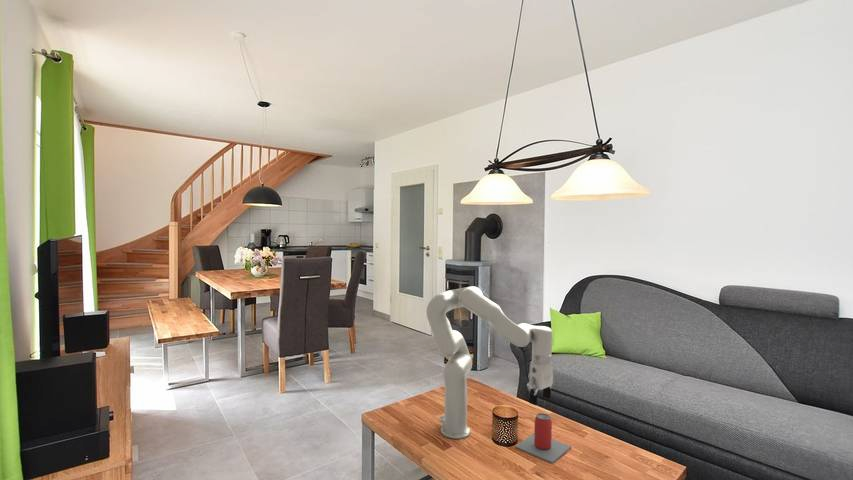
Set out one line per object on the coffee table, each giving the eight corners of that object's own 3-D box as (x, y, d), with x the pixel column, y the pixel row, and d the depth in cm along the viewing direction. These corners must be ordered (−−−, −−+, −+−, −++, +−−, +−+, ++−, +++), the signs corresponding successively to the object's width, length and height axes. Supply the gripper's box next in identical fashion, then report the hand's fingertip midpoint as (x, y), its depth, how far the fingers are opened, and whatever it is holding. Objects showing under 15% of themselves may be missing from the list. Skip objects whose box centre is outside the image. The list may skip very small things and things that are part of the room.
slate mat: (515, 447, 160) (515, 446, 160) (535, 433, 172) (535, 432, 172) (552, 463, 149) (552, 462, 149) (571, 447, 161) (571, 446, 161)
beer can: (552, 451, 157) (552, 420, 156) (534, 449, 158) (535, 419, 158) (550, 442, 163) (551, 413, 163) (533, 441, 164) (534, 411, 164)
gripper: (537, 364, 151) (535, 409, 152) (561, 356, 163) (560, 398, 163) (520, 359, 157) (519, 403, 157) (545, 352, 168) (543, 392, 169)
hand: (540, 400), depth 160 cm, fingers open, 9 cm apart
